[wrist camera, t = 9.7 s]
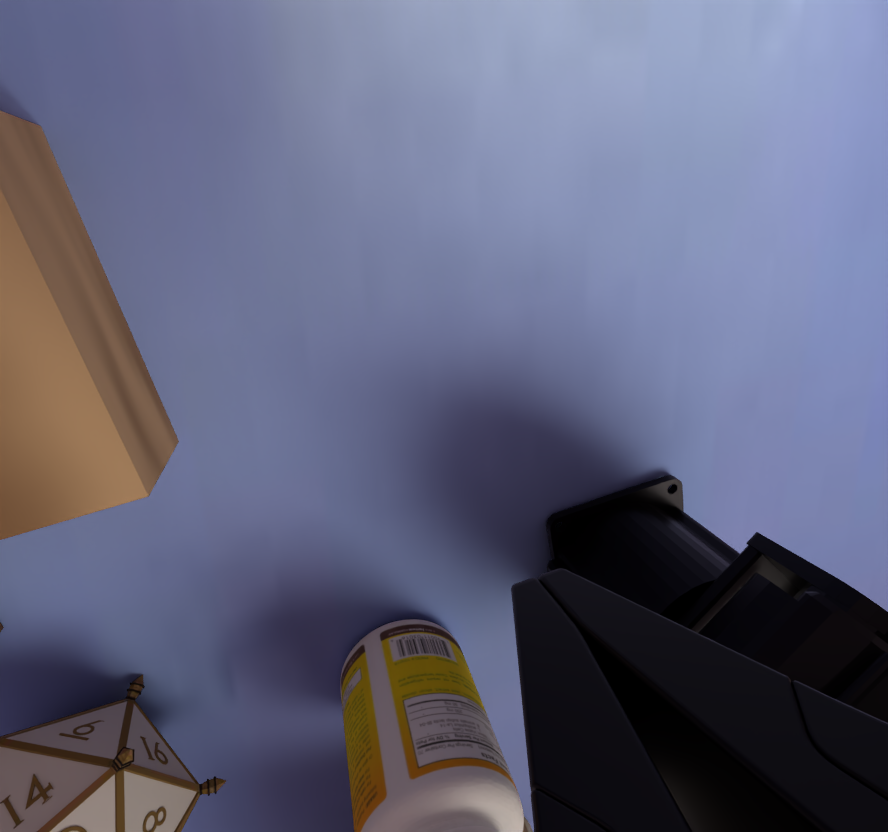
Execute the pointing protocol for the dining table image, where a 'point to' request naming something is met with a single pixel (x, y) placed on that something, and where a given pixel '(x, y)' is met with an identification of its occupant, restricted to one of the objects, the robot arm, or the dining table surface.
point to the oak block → (64, 357)
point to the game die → (96, 774)
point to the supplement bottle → (421, 737)
